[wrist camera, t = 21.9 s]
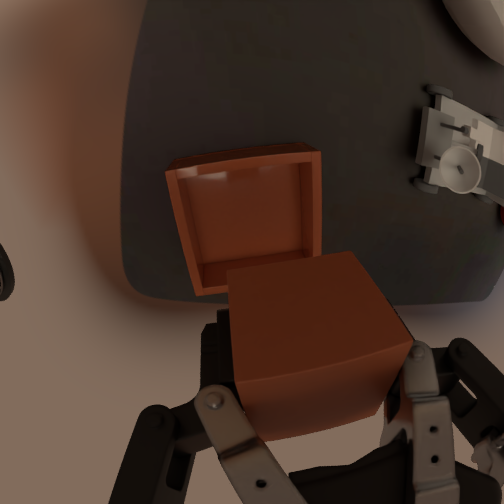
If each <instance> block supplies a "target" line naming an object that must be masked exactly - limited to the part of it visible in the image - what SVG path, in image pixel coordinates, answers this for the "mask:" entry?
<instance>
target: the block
mask: <svg viewBox="0 0 504 504" xmlns="http://www.w3.org/2000/svg"><path fill="white" fill-rule="evenodd" d="M227 285H228V301H229V315H230V329H231V343H232V356H233V368H234V379H235V385H236V388H237V391H238V394H239V397H240V400H241V403H242V406H243V409H244V412H245V415H246V417H247V418H248V420H249V422H250V423H251V425H252V426H253V428H254V430H255V431H256V433H257V434H258V436H259V437H260V438H261V439H262V440H263V441H264V442H267V441H274V440H280V439H285V438H291V437H296V436H301V435H305V434H309V433H314V432H318V431H322V430H326V429H330V428H334V427H338V426H341V425H345V424H348V423H351V422H354V421H358V420H360V419H364V418H367V417H370V416H373V415H375V414H376V412H377V411H378V409H379V407H380V405H381V404H382V402H383V400H384V399H385V397H386V395H387V393H388V392H389V390H390V388H391V386H392V384H393V382H394V380H395V379H396V377H397V375H398V373H399V371H400V369H401V367H402V365H403V363H404V361H405V359H406V356H407V354H408V352H409V350H410V348H411V346H412V343H413V339H412V337H411V336H410V334H409V332H408V331H407V329H406V328H405V326H404V325H403V323H402V322H401V320H400V319H399V317H398V316H397V314H396V313H395V311H394V310H393V308H392V307H391V305H390V304H389V303H388V301H387V300H386V298H385V297H384V295H383V294H382V293H381V291H380V290H379V288H378V287H377V285H376V284H375V283H374V281H373V280H372V279H371V277H370V276H369V274H368V273H367V272H366V270H365V269H364V268H363V266H362V265H361V264H360V262H359V261H358V260H357V258H356V257H355V256H354V254H353V253H352V252H351V251H345V252H339V253H333V254H327V255H321V256H315V257H309V258H302V259H296V260H290V261H284V262H277V263H271V264H264V265H258V266H252V267H245V268H238V269H232V270H227Z"/></svg>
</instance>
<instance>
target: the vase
mask: <svg viewBox="0 0 504 504" xmlns="http://www.w3.org/2000/svg"><path fill="white" fill-rule="evenodd" d="M442 1H443V3H444V5H445V8H446V9H447V11H448V13H449V14H450V16H451V18H452V19H453V20H454V22H455V23H456V24H457V26H458V27H459V28H460V30H461V31H462V33H463V34H464V35H465V36H466V37H467V38H468V39H469V40H470V41H471V42H472V43H473V44H474V45H476V46H477V47H478V48H479V49H480V50H481V51H482V52H484V53H485V54H486V55H487V56H488V57H490V58H491V59H493V60H494V61H496V62H498V63H500V64H501V65H503V66H504V0H442Z"/></svg>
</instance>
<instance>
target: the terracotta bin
mask: <svg viewBox="0 0 504 504" xmlns="http://www.w3.org/2000/svg"><path fill="white" fill-rule="evenodd" d="M165 176H166V180H167V185H168V189H169V194H170V198H171V203H172V207H173V211H174V216H175V220H176V224H177V228H178V232H179V236H180V240H181V244H182V248H183V251H184V255H185V259H186V263H187V266H188V270H189V273H190V277H191V280H192V284H193V287H194V291H195V294H196V296H201V295H209V294H216V293H223V292H228V285H227V270H232V269H238V268H245V267H252V266H258V265H264V264H271V263H277V262H284V261H290V260H296V259H302V258H309V257H315V256H321V245H322V169H321V151H319V150H317V149H316V148H314V147H312V146H310V145H308V144H306V143H304V142H300V143H287V144H275V145H265V146H256V147H248V148H240V149H232V150H225V151H219V152H212V153H206V154H200V155H194V156H189V157H183V158H178V159H174V161H173V162H172V163H171V164H170V166H169V167H168V168H167V170H166V171H165Z"/></svg>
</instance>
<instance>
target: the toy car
mask: <svg viewBox="0 0 504 504" xmlns="http://www.w3.org/2000/svg"><path fill="white" fill-rule="evenodd" d="M426 91H427V92H428V93H429V94H431V95H434V96H436V99H435V109H433V108H430V107H425V106H423V112H422V121H421V129H420V136H419V143H418V149H417V155H416V161H415V163H417V164H420V165H422V166H426V170H425V175H424V179H422V178H414V182H413V186H414V187H416V188H417V189H419V190H422V191H424V192H427V193H431V194H437V192H438V188H439V187H438V186H443V187H448V188H449V189H450V190H452V191H454V192H456V193H460V194H465V193H469V192H473V193H475V194H474V196H475V197H476V198H478V199H479V200H481V201H483V202H486V203H488V204H492V201H493V200H494V201H495V202H497V203H498V204H500V205H502V206H503V207H504V121H503V120H501V119H499V118H496V117H493V116H488V118H486V117H484V116H482V115H481V114H479V113H477V112H475V111H473V110H471V109H470V108H468V107H466V106H464V105H462V104H460V103H458V102H456V101H454V100H451V99H452V98H453V92H452V91H451V90H449V89H447V88H445V87H442V86H438V85H433V84H428V85H427V90H426Z"/></svg>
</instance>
